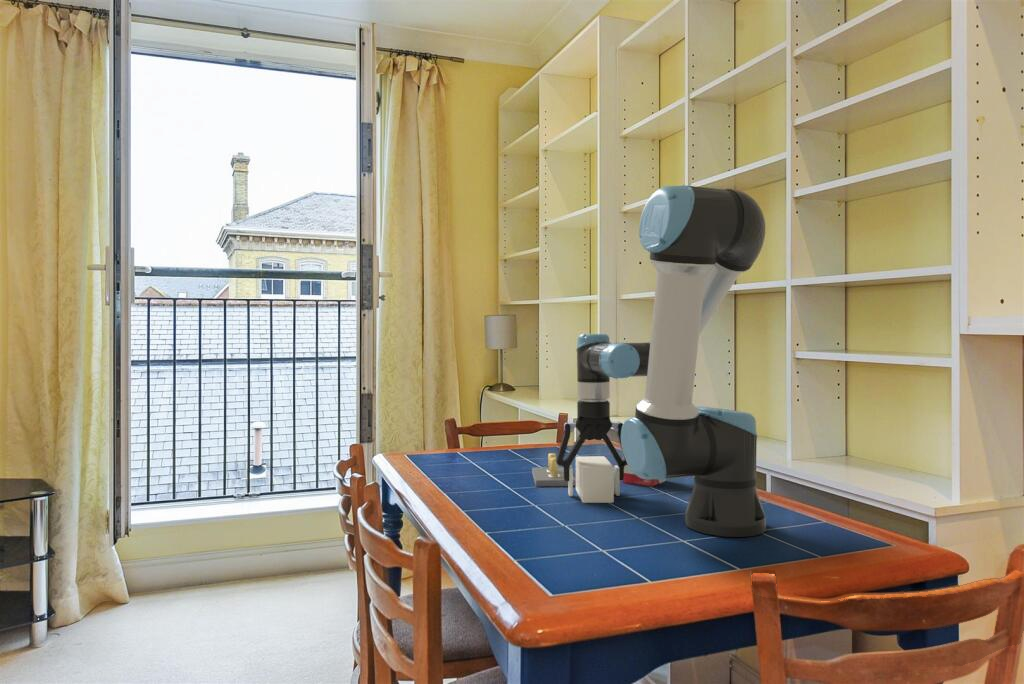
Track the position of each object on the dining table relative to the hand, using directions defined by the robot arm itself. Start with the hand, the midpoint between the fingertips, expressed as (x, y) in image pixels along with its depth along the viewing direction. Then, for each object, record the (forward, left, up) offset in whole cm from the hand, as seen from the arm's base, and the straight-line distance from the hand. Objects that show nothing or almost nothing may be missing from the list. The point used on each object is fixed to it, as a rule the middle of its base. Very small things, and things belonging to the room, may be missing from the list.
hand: (593, 494), depth 159 cm
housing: (0, 0, 0) cm, 0 cm away
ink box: (+14, -15, 0) cm, 20 cm away
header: (+18, +8, 0) cm, 20 cm away
